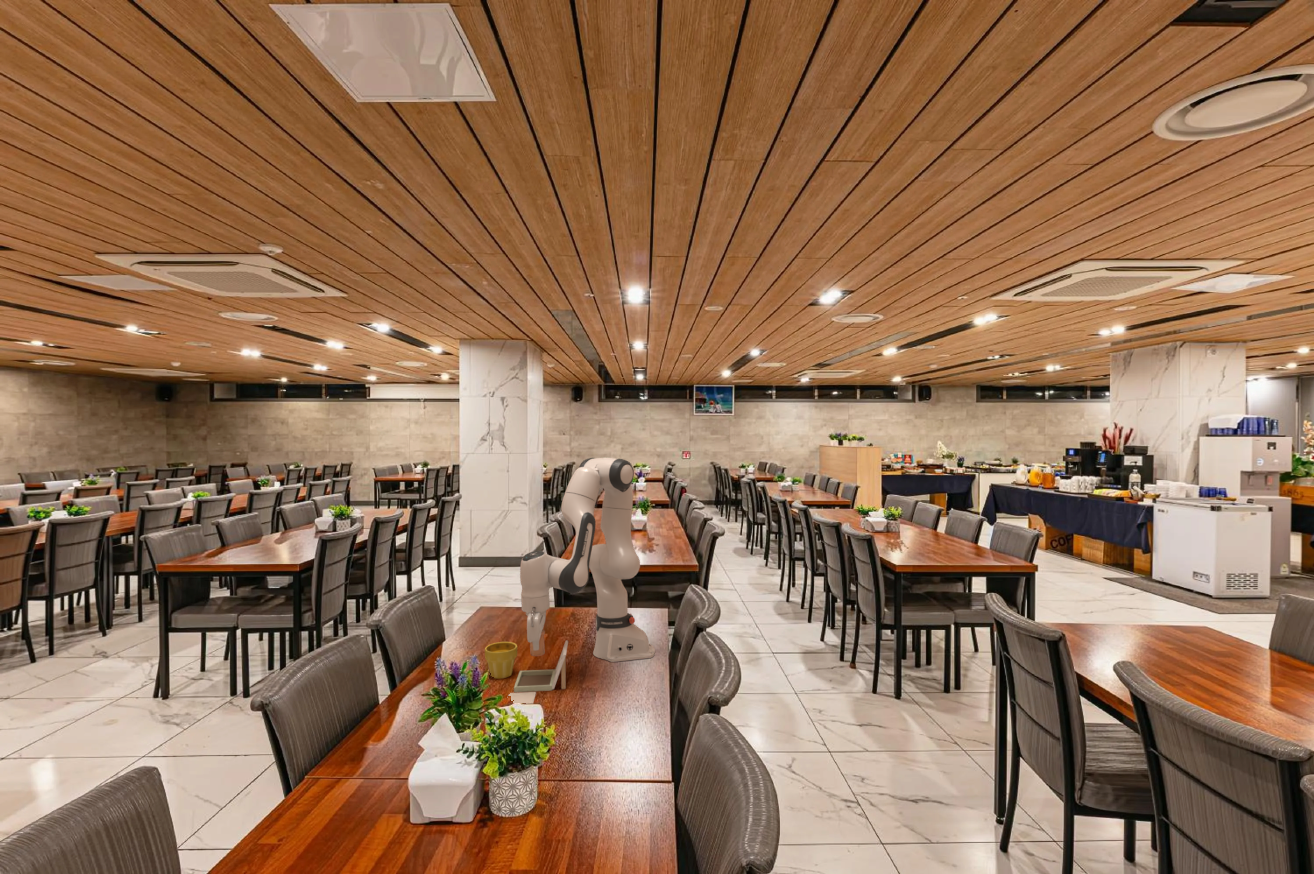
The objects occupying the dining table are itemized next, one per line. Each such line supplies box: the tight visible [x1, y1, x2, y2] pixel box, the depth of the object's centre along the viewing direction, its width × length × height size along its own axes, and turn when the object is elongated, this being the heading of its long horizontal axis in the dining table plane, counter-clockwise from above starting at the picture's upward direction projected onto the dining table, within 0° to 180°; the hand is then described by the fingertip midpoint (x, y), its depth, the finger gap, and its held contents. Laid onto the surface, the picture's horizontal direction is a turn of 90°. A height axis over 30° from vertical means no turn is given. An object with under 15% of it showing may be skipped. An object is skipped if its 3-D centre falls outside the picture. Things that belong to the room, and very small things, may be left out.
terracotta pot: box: [529, 629, 546, 657], centre depth 194 cm, size 5×5×7 cm
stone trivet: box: [507, 691, 537, 705], centre depth 181 cm, size 8×8×1 cm
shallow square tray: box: [513, 668, 556, 693], centre depth 194 cm, size 12×14×2 cm
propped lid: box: [552, 640, 569, 690], centre depth 194 cm, size 4×14×12 cm, turn 5°
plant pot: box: [484, 641, 518, 680], centre depth 201 cm, size 10×10×10 cm
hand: (537, 646), depth 194 cm, fingers closed on terracotta pot, 4 cm apart
